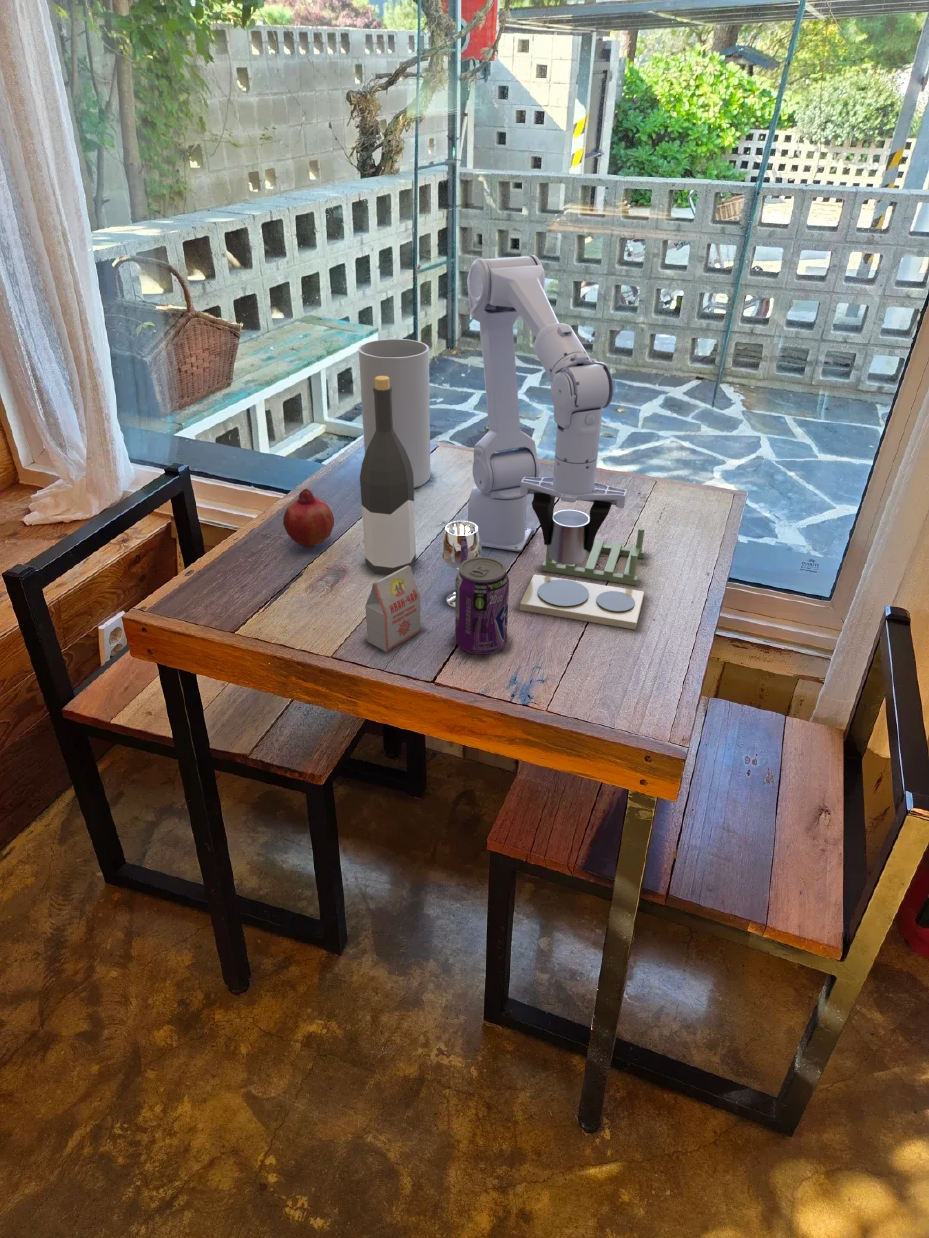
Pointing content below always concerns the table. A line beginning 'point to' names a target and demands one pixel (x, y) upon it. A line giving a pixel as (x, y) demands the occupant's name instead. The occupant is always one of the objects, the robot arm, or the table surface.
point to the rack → (608, 573)
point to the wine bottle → (387, 493)
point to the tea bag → (393, 610)
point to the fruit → (308, 520)
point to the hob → (583, 601)
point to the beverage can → (481, 605)
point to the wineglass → (460, 546)
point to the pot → (569, 537)
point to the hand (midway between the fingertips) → (568, 545)
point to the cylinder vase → (400, 396)
